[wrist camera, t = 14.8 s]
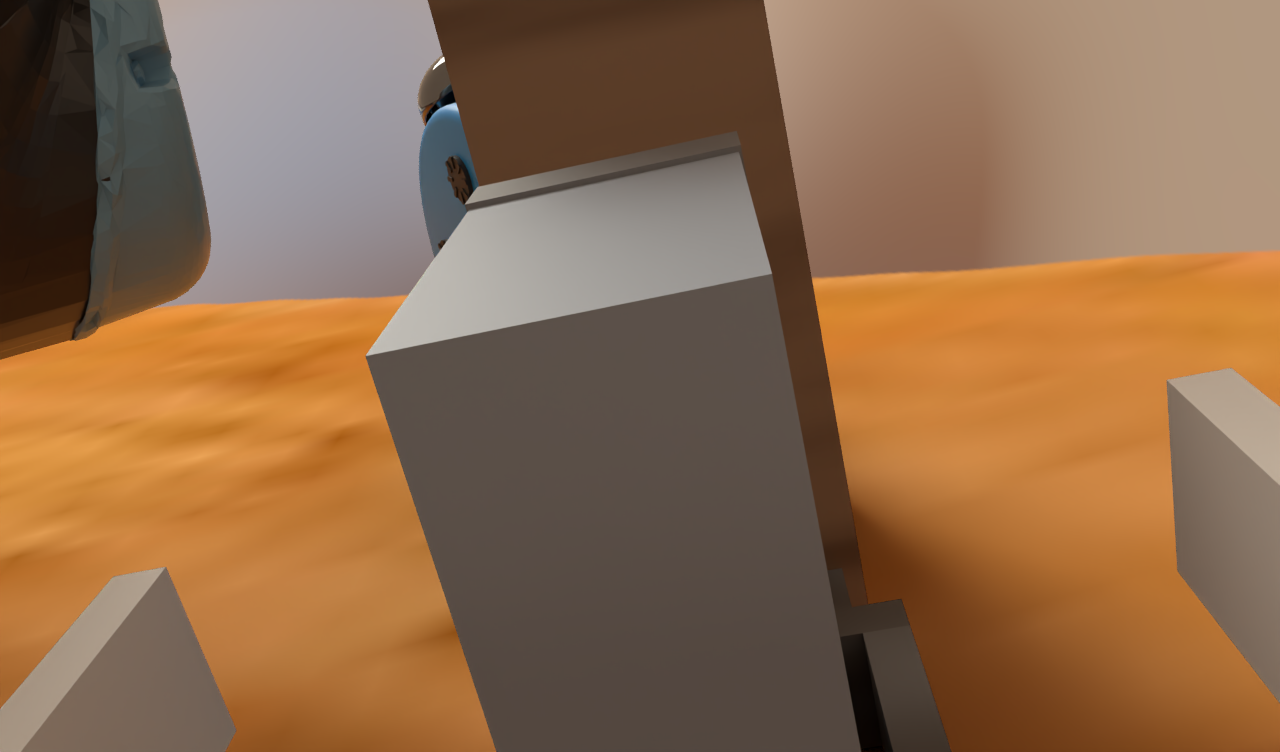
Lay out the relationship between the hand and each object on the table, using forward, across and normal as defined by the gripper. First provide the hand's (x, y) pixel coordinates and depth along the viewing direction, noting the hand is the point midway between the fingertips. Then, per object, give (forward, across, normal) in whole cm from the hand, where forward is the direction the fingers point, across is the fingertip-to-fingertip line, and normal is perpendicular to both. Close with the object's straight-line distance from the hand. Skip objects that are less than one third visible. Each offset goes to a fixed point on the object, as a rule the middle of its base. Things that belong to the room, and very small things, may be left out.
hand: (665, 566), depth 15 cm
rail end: (+3, 0, -10) cm, 10 cm away
